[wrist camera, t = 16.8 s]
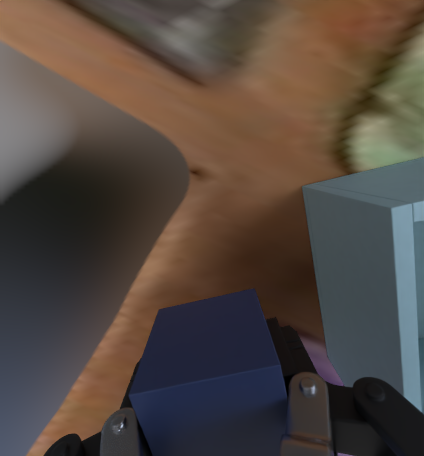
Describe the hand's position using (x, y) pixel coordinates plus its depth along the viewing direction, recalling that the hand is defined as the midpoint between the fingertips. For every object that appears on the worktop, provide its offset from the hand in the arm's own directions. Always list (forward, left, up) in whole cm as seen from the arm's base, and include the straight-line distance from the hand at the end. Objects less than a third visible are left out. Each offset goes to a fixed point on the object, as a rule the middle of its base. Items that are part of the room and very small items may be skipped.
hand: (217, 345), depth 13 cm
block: (0, 0, 0) cm, 0 cm away
